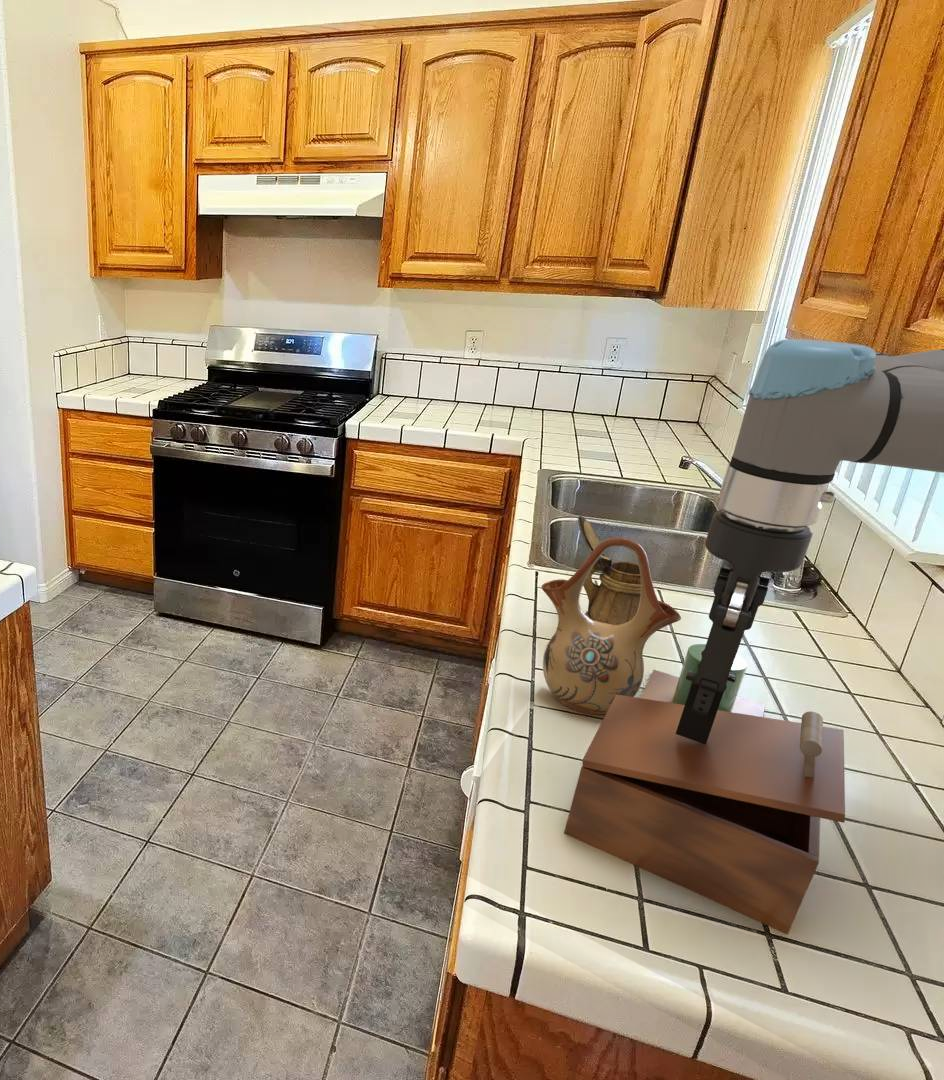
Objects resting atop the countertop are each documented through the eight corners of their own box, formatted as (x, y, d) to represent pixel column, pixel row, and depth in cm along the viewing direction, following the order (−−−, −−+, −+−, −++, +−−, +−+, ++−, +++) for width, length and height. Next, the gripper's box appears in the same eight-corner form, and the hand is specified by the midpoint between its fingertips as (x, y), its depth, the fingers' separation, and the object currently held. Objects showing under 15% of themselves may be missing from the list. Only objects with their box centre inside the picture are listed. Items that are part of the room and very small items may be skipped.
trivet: (763, 708, 105) (765, 704, 104) (756, 757, 94) (757, 753, 94) (652, 672, 112) (653, 669, 112) (633, 714, 102) (634, 710, 102)
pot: (733, 701, 105) (750, 651, 102) (725, 733, 98) (744, 680, 95) (678, 683, 109) (693, 635, 106) (667, 713, 101) (683, 661, 98)
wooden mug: (562, 604, 133) (584, 508, 126) (647, 627, 126) (675, 527, 119) (549, 622, 126) (572, 522, 120) (639, 648, 119) (668, 543, 113)
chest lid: (843, 737, 75) (845, 694, 74) (844, 823, 63) (848, 774, 62) (615, 700, 88) (615, 664, 87) (582, 767, 76) (581, 725, 75)
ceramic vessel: (649, 709, 103) (699, 540, 94) (647, 744, 96) (701, 564, 86) (524, 674, 110) (559, 514, 101) (513, 704, 103) (550, 534, 94)
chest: (792, 843, 81) (821, 772, 77) (785, 940, 69) (819, 862, 65) (597, 765, 91) (615, 700, 88) (562, 838, 80) (581, 767, 76)
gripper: (813, 549, 61) (727, 785, 69) (816, 510, 70) (740, 721, 79) (706, 526, 65) (638, 751, 74) (723, 492, 75) (661, 694, 83)
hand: (691, 735), depth 76 cm, fingers closed
